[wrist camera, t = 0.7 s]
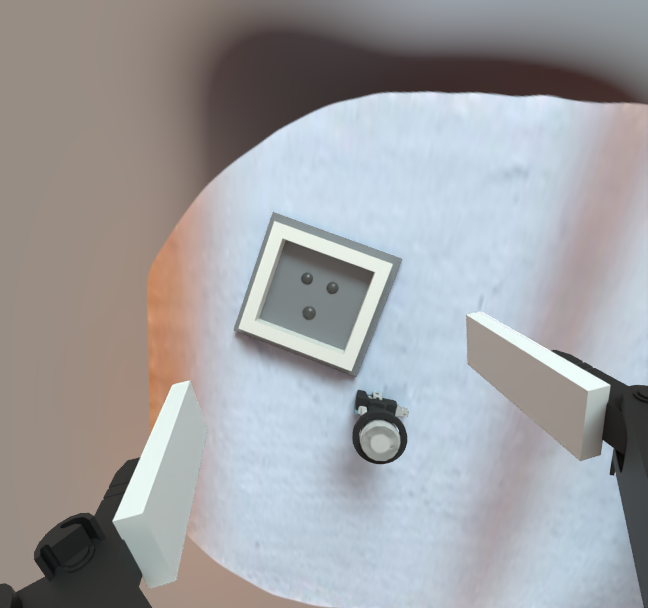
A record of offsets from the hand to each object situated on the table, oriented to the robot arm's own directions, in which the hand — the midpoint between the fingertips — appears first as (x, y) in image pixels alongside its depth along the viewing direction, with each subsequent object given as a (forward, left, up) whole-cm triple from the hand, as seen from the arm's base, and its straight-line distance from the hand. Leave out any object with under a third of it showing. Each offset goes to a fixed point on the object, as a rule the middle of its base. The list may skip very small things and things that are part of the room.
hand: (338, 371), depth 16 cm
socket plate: (+4, 0, -26) cm, 26 cm away
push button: (-8, +10, -26) cm, 29 cm away
